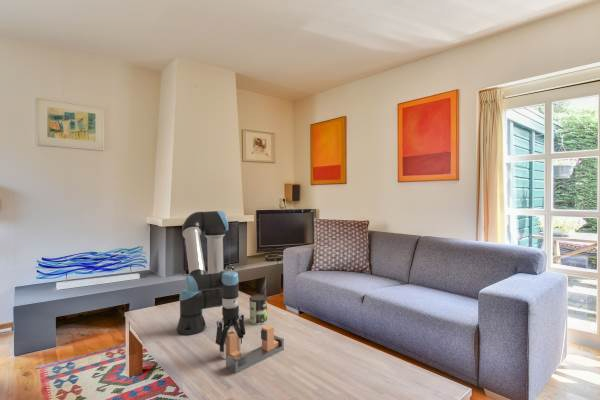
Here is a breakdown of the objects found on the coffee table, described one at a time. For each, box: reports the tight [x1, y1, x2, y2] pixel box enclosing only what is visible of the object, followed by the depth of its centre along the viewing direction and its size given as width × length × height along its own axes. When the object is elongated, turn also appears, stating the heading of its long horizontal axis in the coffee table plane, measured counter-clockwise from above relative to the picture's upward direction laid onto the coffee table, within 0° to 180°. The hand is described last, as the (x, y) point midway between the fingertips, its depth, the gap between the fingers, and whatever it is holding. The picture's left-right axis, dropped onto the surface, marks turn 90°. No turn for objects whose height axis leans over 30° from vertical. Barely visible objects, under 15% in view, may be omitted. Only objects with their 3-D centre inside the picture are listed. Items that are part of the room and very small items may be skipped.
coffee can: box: [248, 294, 268, 326], centre depth 194 cm, size 10×10×14 cm
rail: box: [225, 334, 285, 374], centre depth 151 cm, size 7×28×5 cm, turn 137°
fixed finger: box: [260, 324, 279, 351], centre depth 157 cm, size 4×8×10 cm, turn 137°
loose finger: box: [224, 330, 242, 359], centre depth 154 cm, size 4×8×10 cm, turn 47°
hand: (231, 354), depth 155 cm, fingers open, 8 cm apart
